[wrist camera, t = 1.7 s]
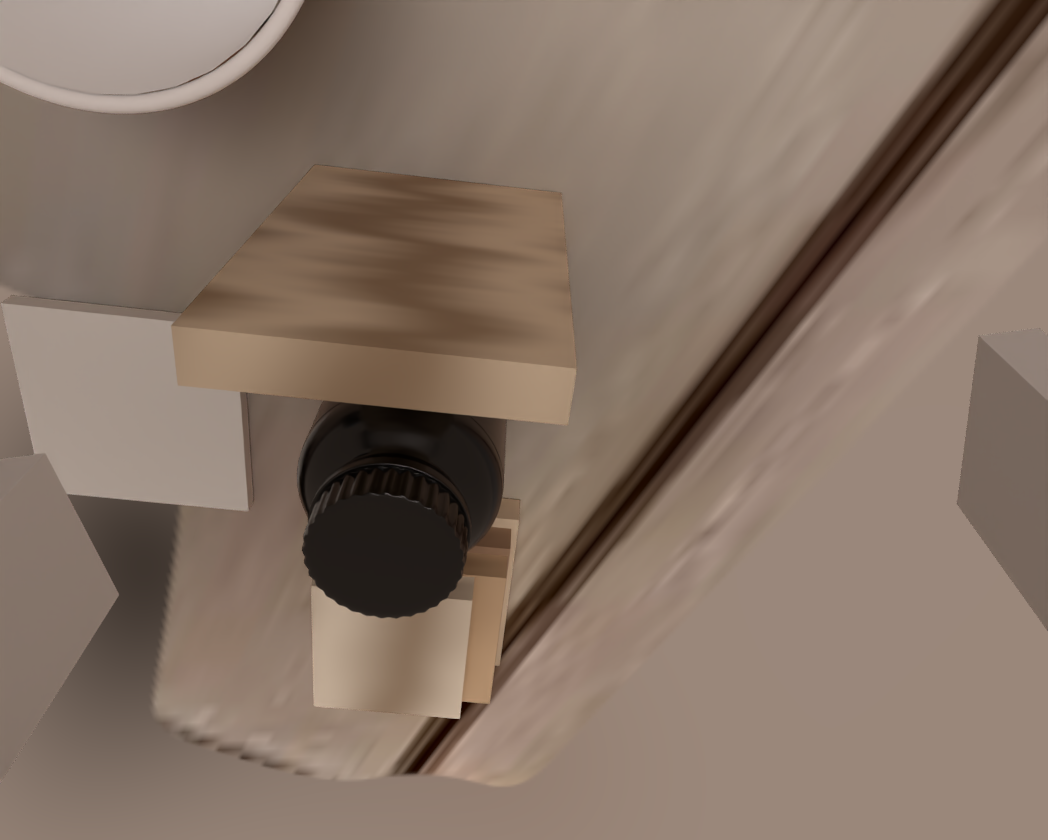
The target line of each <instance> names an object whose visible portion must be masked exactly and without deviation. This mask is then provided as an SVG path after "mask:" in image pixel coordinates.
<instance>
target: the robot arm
mask: <svg viewBox="0 0 1048 840" xmlns="http://www.w3.org/2000/svg"><path fill="white" fill-rule="evenodd" d="M957 505H958V506H959V507H960V509H961V510H962V512H963V513H964V514H965V516H966V517H967V519H968V520H969V522H970V523H971V524H972V526H973V527H974V529H975V530H976V531H977V533H978V534H979V536H980V537H981V538H982V540H983V541H984V543H985V544H986V545H987V547H988V548H989V549H990V551H991V552H992V554H993V555H994V556H995V558H996V559H997V561H998V562H999V564H1000V565H1001V566H1002V568H1003V569H1004V571H1005V572H1006V573H1007V575H1008V576H1009V578H1010V579H1011V580H1012V582H1013V583H1014V584H1015V586H1016V587H1017V589H1018V590H1019V592H1020V593H1021V594H1022V596H1023V597H1024V599H1025V600H1026V601H1027V603H1028V604H1029V606H1030V607H1031V608H1032V610H1033V611H1034V613H1035V614H1036V615H1037V616H1038V618H1039V620H1040V621H1041V622H1042V624H1043V625H1044V627H1045V628H1046V629H1047V631H1048V335H1047V334H1046V333H1045V332H1044V331H1043V330H1041V329H1040V328H1035V329H1027V330H1019V331H1011V332H1003V333H995V334H987V335H979V337H978V344H977V353H976V360H975V368H974V375H973V383H972V391H971V399H970V407H969V414H968V422H967V430H966V437H965V445H964V453H963V461H962V468H961V476H960V484H959V491H958V500H957ZM118 596H119V594H118V592H117V590H116V588H115V586H114V584H113V582H112V580H111V578H110V576H109V574H108V572H107V570H106V569H105V567H104V565H103V563H102V561H101V559H100V557H99V555H98V553H97V551H96V549H95V548H94V546H93V544H92V542H91V540H90V538H89V536H88V534H87V532H86V530H85V528H84V526H83V524H82V522H81V521H80V519H79V517H78V515H77V513H76V511H75V509H74V507H73V505H72V503H71V501H70V499H69V497H68V496H67V494H66V492H65V490H64V488H63V486H62V484H61V482H60V480H59V478H58V476H57V474H56V472H55V471H54V469H53V467H52V465H51V463H50V461H49V459H48V457H47V455H46V453H42V454H34V455H27V456H18V457H11V458H2V459H0V783H1V781H2V780H3V778H4V777H5V775H6V774H7V772H8V770H9V769H10V767H11V766H12V764H13V763H14V761H15V759H16V758H17V756H18V755H19V753H20V751H21V750H22V748H23V747H24V745H25V744H26V742H27V740H28V739H29V737H30V735H31V734H32V732H33V731H34V729H35V728H36V726H37V724H38V723H39V721H40V720H41V718H42V717H43V715H44V713H45V712H46V710H47V709H48V707H49V705H50V704H51V702H52V700H53V699H54V697H55V696H56V694H57V693H58V691H59V690H60V688H61V686H62V685H63V683H64V682H65V680H66V678H67V677H68V675H69V674H70V672H71V670H72V669H73V667H74V666H75V664H76V662H77V661H78V659H79V658H80V656H81V654H82V653H83V651H84V650H85V648H86V647H87V645H88V643H89V642H90V640H91V639H92V637H93V636H94V634H95V632H96V630H97V629H98V628H99V626H100V624H101V623H102V621H103V620H104V618H105V616H106V615H107V613H108V612H109V610H110V608H111V607H112V605H113V604H114V602H115V600H116V599H117V597H118Z"/></svg>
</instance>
